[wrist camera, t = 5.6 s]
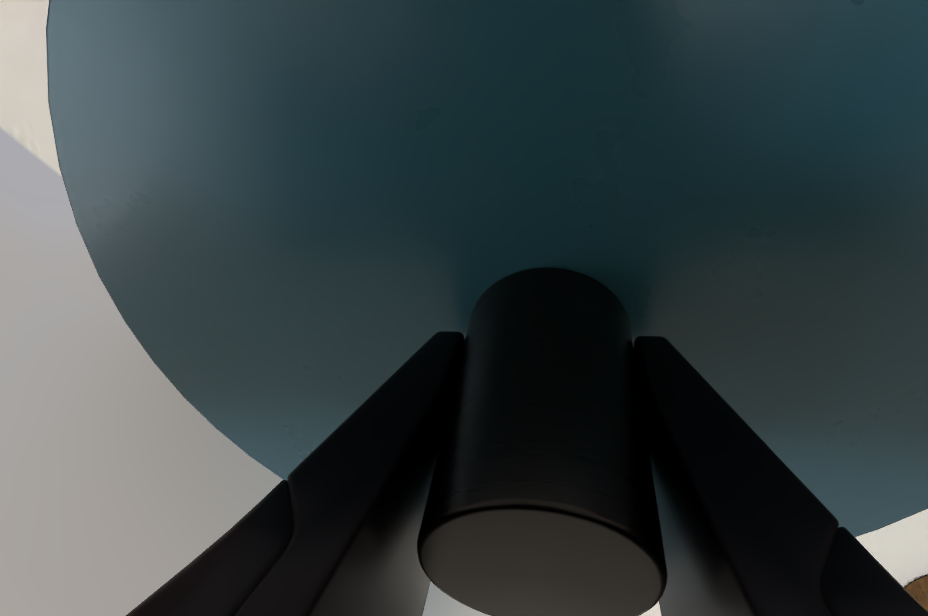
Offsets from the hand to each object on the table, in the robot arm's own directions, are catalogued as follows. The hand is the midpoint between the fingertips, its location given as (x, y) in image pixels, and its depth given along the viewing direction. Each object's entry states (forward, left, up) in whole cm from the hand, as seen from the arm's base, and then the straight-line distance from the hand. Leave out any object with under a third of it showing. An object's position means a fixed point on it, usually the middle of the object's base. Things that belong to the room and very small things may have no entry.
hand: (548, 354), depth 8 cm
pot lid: (0, 0, -1) cm, 1 cm away
